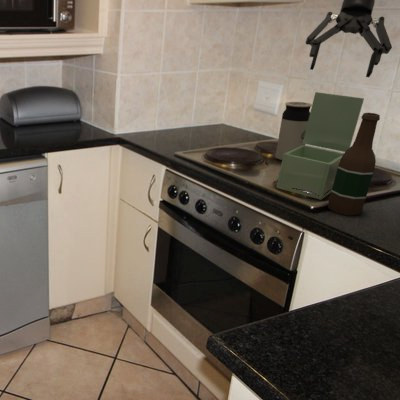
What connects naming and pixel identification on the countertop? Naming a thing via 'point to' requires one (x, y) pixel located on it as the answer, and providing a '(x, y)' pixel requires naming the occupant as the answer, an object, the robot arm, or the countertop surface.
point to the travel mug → (292, 127)
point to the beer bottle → (355, 170)
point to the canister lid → (332, 121)
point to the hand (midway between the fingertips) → (340, 71)
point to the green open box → (309, 171)
